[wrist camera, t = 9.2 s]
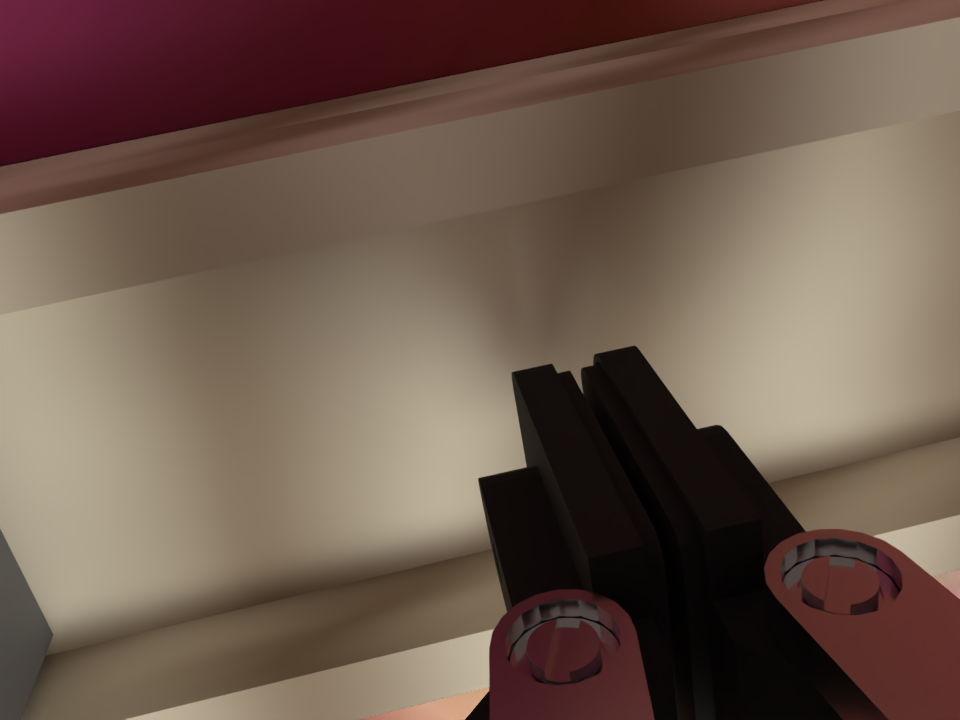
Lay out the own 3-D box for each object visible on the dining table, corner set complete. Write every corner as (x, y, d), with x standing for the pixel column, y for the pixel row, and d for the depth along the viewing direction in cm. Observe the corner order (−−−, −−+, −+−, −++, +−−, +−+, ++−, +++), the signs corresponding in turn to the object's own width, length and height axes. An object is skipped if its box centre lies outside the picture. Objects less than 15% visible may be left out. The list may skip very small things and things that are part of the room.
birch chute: (993, -34, 15) (1174, -27, 12) (957, 439, 19) (1083, 539, 16) (-688, 305, 13) (-1009, 421, 10) (-330, 746, 17) (-478, 928, 14)
